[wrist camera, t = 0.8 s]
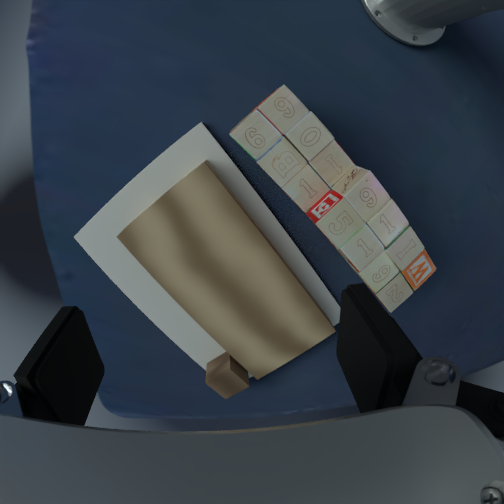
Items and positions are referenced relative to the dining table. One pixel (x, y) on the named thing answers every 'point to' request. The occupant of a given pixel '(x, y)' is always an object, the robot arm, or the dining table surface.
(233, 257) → the oak plinth
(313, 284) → the cream tile
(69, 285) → the dining table surface
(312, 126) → the stack of blocks
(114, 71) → the dining table surface
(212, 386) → the walnut cube
